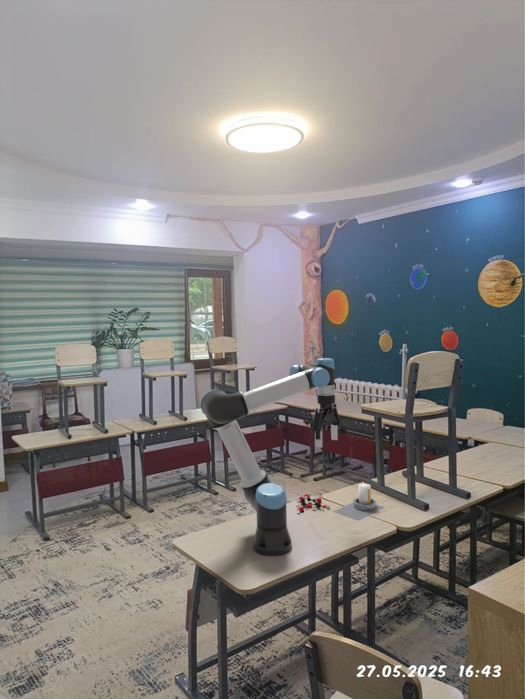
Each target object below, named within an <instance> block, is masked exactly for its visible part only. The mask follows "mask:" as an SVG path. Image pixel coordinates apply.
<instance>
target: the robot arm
mask: <svg viewBox="0 0 525 699" xmlns="http://www.w3.org/2000/svg"><path fill="white" fill-rule="evenodd" d="M335 370H336V368H335V360H334V359H333V358H331V357H330V358H329V357H325V358H324V357H321V358H317V359H316V362H315V363H307V364H293V365H291V366H290V368H289V376H286V377H284V378H280V379H278V380H276V381H273V382H270V383H268V384H265V385H262V386H259V387H256V388H253V389H250V390H248V391H245V392H243V391H237V392H233V393H226V392H225V391H223V390H222V389H217V388H216V389H209V390H208V391H205V393H204V394H203V396H202V397H201V399H200V404H199V406H200V410H201V412H202V413H203V414H204V415H205V417H206V419H207V421H208V423H209V425H210V427H211V429H213V430H216V431H217V433H218V435H219V436H220V439H221V440H222V442H223V444H224V447H225V449H226V450H227V452H228V455H229V457H230V459H231V461H232V463H233V464H234V467H235V469H236V470H237V472H238V475H239V477H240V478H241V481H240V487H241V489H242V491H243V495H244V499H245V500H246V501H247V502H248V503H249V504H250V505H251V507H252V508H253V510H255V512H256V530H255V533H254V537H253V541H252V549H253V550H254V551H255V553H257V554H259V555H264V556H268V557H270V556H272V557H274V556H280V555H284V554H287V553H288V552H290V551H291V549H292V546H293V544H292V543H293V542H292V538H291V534H290V532H289V529H288V526H287V525H288V522H287V521H288V520H287V518H288V517H287V493H286V490H285V488H284V487H283V486H282V485H281V484H276V483H272V482H271V481H270V479H269V477H268V475H267V472H266V471H265V470H263V469H261V468H260V466H259V464H258V462H257V460H256V457H255V456H254V453H253V452H252V450H251V448H250V445H249V444H248V442H247V440H246V437H245V435H244V433H243V432H242V429H241V428H240V425H239V423H238V421H237V420H240V419H242V418H245V417H248V416H249V415H250V414H251V412H253V411H256V410H259V409H261V408H263V407H266V406H269V405H271V404H274V403H277V402H279V401H282V400H285V399H288V398H291V397H293V396H296V395H298V394H300V393H301V394H302V393H303V392H306V391H308V390H312V389H314V388H316V389H317V390H316V393H317V395H316V396H317V398H316V399H317V404H319V407H316V409H315V415H314V420H313V425H312V432H315V447H317V448H323V431H322V430H323V426H324V423H325V421H326V419H327V417H328V418H329V420H330V423H331V424H330V427H331V428H330V438H331V440H332V441H338V437H339V436H338V426H340V425H341V424H340V422H341V420H340V416H339V412H338V409H337V403H336V396H335V393H336V386H335V385H336V383H335V381H336V380H335V376H336V375H335V372H336V371H335Z"/></svg>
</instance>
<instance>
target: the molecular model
mask: <svg viewBox="0 0 525 699" xmlns="http://www.w3.org/2000/svg"><path fill="white" fill-rule="evenodd" d="M311 496H312V493H311V492H308V493H307V494H304V495H303V496H300V497H299V498H298V499H297V500H296V503H297V504H296V508H297V509H299V512H301V513H303V512H304V511H305V506H307V508H309V509H313V510H314V509H315V508H319V509H320V511H321V512H324V511H325V509H326V508H327V509H329V508H331V505H330V504H324V505H322V504H321V503H322V500H323V499H322V498H321V497H319V496H315V497H313V499H311ZM311 501H312V502H313V503H314V504H312V503H309V504H308V503H306V502H311ZM300 502H301V504H302V506H300Z"/></svg>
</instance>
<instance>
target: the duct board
mask: <svg viewBox="0 0 525 699" xmlns="http://www.w3.org/2000/svg"><path fill="white" fill-rule="evenodd" d="M384 508H385V507H384V506H381V505H379V504H376V509H374V510H371V511H361V510H358V509H355V508H354V507H353V502H351V503H348V504H346V505H344V506H342V507H339V508H338V509H335V510H334V511H332V512H333V513H336V514H339V515H341V516H344V517H346V518H347V517H348V518H350V519H353V520H356V521H361V520H363V519H364V518H366V517H369V516H371V515H372V514H374V513H376V512H379V511H381V510H383V509H384Z"/></svg>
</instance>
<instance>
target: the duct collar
mask: <svg viewBox="0 0 525 699" xmlns="http://www.w3.org/2000/svg"><path fill="white" fill-rule="evenodd" d="M352 501H353V502H352V503H353V507H354V508H355V509H358V510H361V511H371V510H374V509H376V505H377V500H375V499H374V498H371V504H369V505H363V504H359V497H356V498H354V500H352Z"/></svg>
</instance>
